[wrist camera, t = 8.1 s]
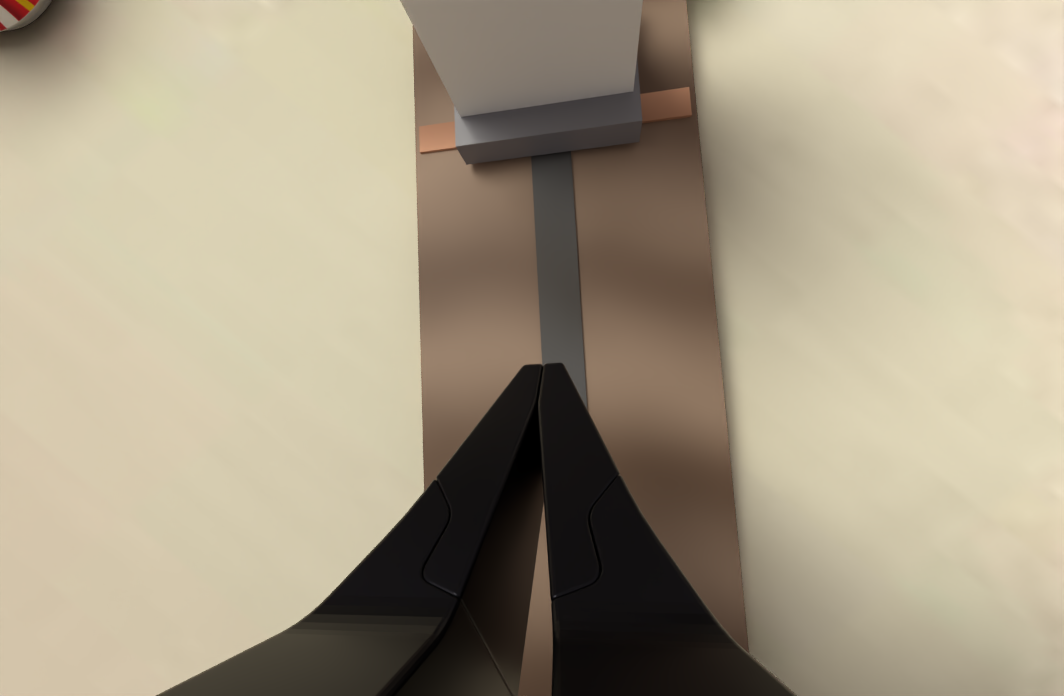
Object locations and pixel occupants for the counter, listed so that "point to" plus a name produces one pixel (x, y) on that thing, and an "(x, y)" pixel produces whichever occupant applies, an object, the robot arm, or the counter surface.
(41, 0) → the soda can
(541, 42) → the fader tab
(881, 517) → the counter surface
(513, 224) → the slider base
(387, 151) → the counter surface
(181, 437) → the counter surface
